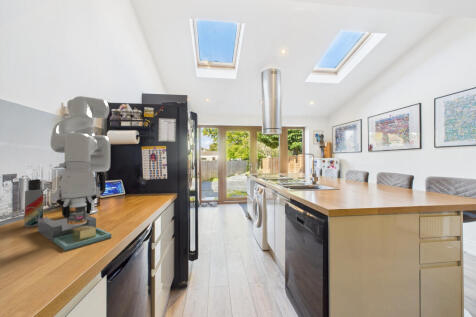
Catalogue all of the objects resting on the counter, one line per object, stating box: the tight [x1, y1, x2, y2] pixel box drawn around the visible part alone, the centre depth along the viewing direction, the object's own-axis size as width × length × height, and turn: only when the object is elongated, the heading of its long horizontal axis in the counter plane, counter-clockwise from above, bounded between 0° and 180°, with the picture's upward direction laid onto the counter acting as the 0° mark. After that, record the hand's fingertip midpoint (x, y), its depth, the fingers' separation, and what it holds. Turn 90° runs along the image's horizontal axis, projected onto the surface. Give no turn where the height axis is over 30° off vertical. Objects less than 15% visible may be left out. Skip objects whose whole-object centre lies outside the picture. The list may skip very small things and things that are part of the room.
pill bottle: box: [67, 197, 87, 226], centre depth 74 cm, size 6×6×10 cm
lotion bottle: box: [23, 178, 44, 228], centre depth 87 cm, size 6×6×20 cm
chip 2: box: [76, 226, 97, 242], centre depth 69 cm, size 4×4×4 cm
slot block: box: [37, 215, 97, 243], centre depth 79 cm, size 19×13×5 cm
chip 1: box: [72, 226, 89, 241], centre depth 71 cm, size 4×4×4 cm
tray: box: [53, 227, 112, 252], centre depth 70 cm, size 12×13×2 cm
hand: (77, 214), depth 74 cm, fingers closed on pill bottle, 5 cm apart
